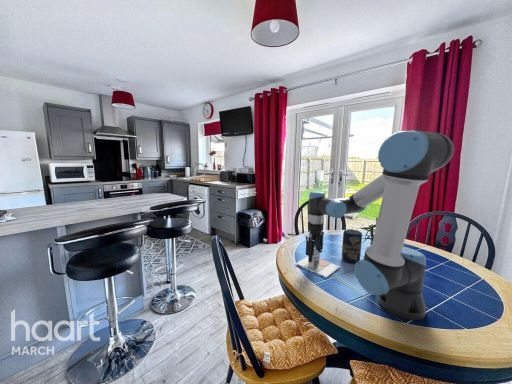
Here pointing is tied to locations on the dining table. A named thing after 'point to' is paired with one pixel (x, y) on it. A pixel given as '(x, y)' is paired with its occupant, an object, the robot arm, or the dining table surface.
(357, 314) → the dining table surface
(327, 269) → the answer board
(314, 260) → the pill bottle
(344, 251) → the canister
